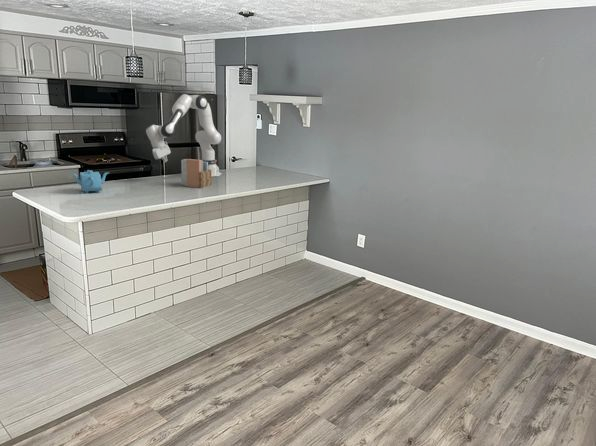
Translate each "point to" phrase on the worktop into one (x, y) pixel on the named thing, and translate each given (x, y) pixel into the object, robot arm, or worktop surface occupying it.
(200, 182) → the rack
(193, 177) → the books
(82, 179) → the teakettle
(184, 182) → the hard drive box
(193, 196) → the worktop surface
